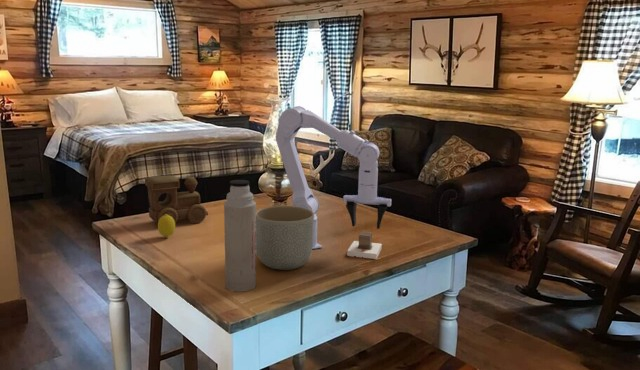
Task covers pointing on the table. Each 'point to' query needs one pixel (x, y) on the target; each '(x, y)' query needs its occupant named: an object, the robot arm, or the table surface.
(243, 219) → the thermos bottle
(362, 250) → the sleeve block
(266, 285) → the table surface
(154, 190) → the wooden toy train
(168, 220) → the lemon
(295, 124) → the robot arm
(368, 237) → the post
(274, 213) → the planter
